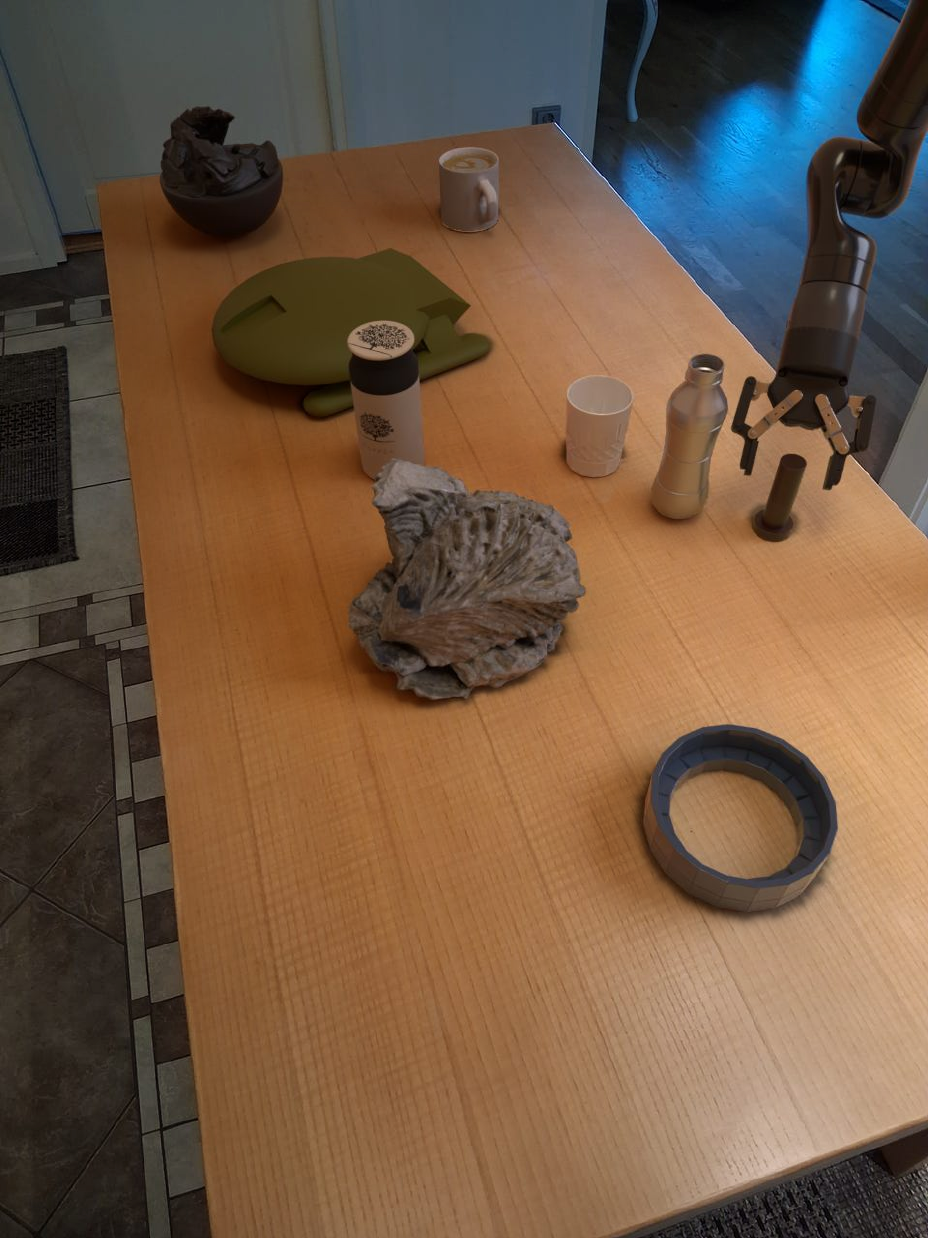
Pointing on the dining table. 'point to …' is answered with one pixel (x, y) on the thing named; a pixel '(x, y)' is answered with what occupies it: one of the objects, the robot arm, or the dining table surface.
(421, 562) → the rock
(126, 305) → the dining table surface
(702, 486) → the plastic bottle
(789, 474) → the dark brown peg stand
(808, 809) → the faceted gray band ring
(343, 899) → the dining table surface
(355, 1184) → the dining table surface
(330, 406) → the spaceship
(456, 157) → the coffee mug
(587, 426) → the white cup
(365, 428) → the travel mug
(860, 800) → the dining table surface
